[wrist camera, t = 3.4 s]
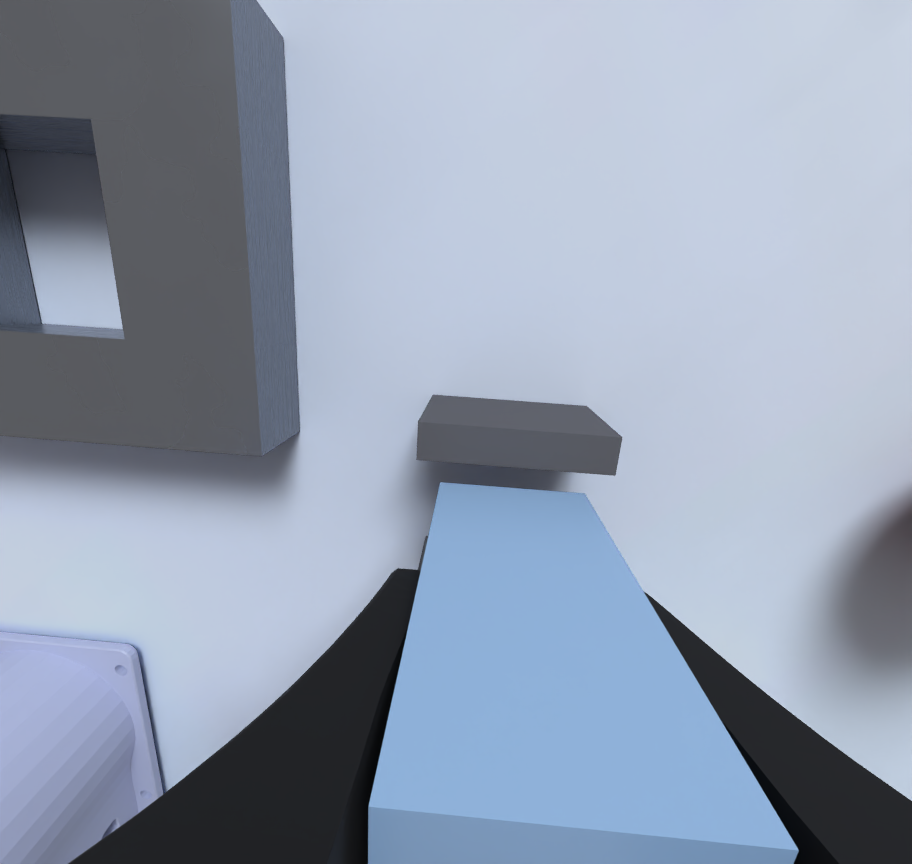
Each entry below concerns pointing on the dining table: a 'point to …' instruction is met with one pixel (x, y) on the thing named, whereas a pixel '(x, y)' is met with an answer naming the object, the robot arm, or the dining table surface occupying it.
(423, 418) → the holster
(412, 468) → the dining table surface
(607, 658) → the plug
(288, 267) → the port block
